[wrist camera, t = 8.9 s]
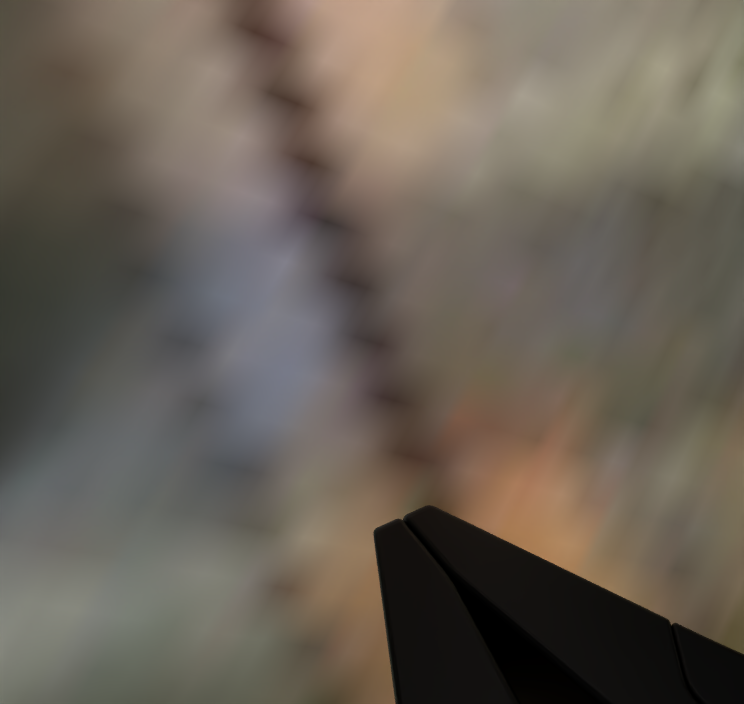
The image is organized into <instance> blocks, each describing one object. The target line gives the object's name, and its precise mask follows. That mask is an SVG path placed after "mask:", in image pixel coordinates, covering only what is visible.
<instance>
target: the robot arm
mask: <svg viewBox="0 0 744 704" xmlns="http://www.w3.org/2000/svg"><path fill="white" fill-rule="evenodd" d="M374 543H375V550H376V558H377V566H378V573H379V581H380V588H381V596H382V604H383V611H384V619H385V626H386V634H387V642H388V649H389V657H390V665H391V672H392V680H393V687H394V695H395V703H396V704H744V654H741V653H739V652H737V651H735V650H733V649H730V648H728V647H726V646H724V645H722V644H719V643H717V642H715V641H713V640H711V639H708V638H706V637H704V636H702V635H700V634H698V633H696V632H694V631H692V630H690V629H688V628H686V627H684V626H681V625H679V624H677V623H673V624H672V625H671V624H670V621H669V620H668V619H666V618H664V617H662V616H660V615H658V614H656V613H654V612H652V611H650V610H648V609H646V608H644V607H642V606H639V605H637V604H635V603H633V602H631V601H629V600H627V599H625V598H623V597H621V596H619V595H617V594H615V593H613V592H610V591H608V590H606V589H604V588H602V587H600V586H598V585H596V584H594V583H592V582H590V581H588V580H586V579H584V578H582V577H579V576H577V575H575V574H573V573H571V572H569V571H567V570H565V569H563V568H561V567H559V566H557V565H555V564H553V563H550V562H548V561H546V560H544V559H542V558H540V557H538V556H536V555H534V554H532V553H530V552H528V551H526V550H524V549H521V548H519V547H517V546H515V545H513V544H511V543H509V542H507V541H505V540H503V539H501V538H499V537H497V536H495V535H493V534H490V533H488V532H486V531H484V530H482V529H480V528H478V527H476V526H474V525H472V524H470V523H468V522H466V521H464V520H461V519H459V518H457V517H455V516H453V515H451V514H449V513H447V512H445V511H443V510H441V509H439V508H437V507H434V506H430V505H428V506H425V507H422V508H420V509H418V510H416V511H413V512H411V513H409V514H407V515H405V517H404V518H403V520H401V519H395V520H393V521H391V522H389V523H387V524H384V525H382V526H380V527H378V528H376V529H375V530H374Z"/></svg>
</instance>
